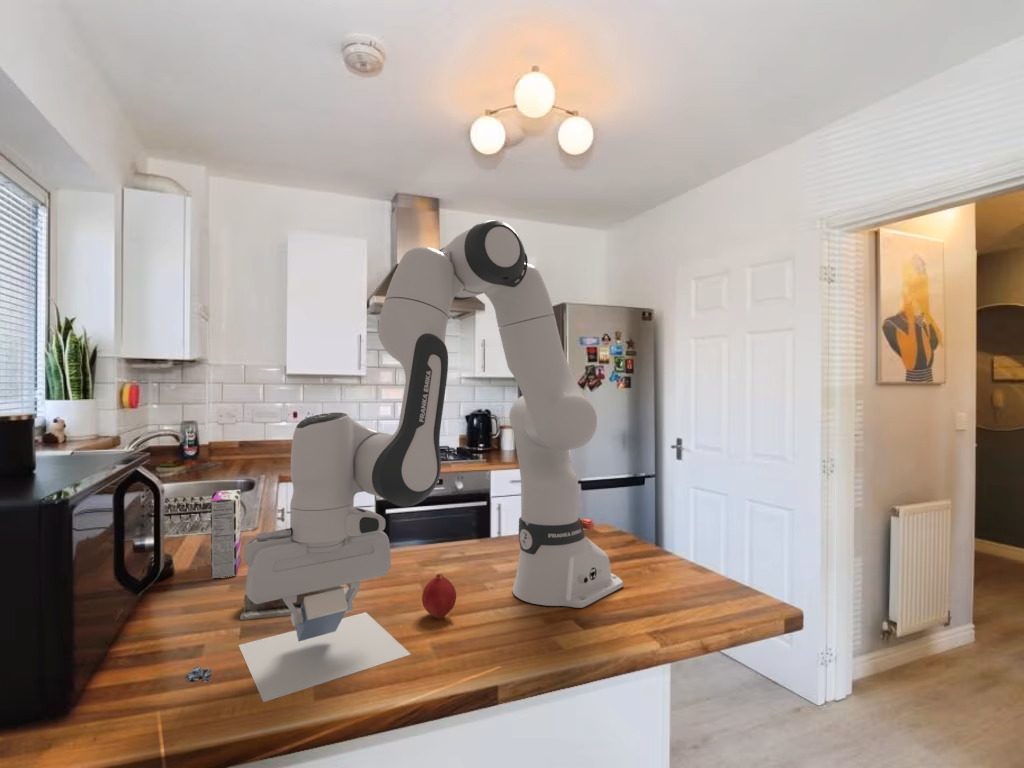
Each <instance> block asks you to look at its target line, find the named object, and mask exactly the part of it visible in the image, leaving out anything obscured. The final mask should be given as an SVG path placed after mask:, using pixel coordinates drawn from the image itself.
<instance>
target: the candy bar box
mask: <svg viewBox="0 0 1024 768" xmlns="http://www.w3.org/2000/svg"><path fill="white" fill-rule="evenodd" d="M241 521H242V520H241V489H228V490H218V491H217V492H216V493H215V495H214V496H213V498H212V499H211V501H210V555H211V556H210V557H211V559H210V567H211V569H210V571H211V573H210V575H211V576H210V577H211V580H214V579H213V578H221V577H228V576H229V577H228V578H231V577H230V576H235V577H237V574H238V571H239V568H240V565H241V561H242V557H241V556H242V545H241V544H242V543H241V542H242V541H241V540H242V539H241V537H242V534H241V527H242V525H241V523H242V522H241ZM221 579H222V578H221Z"/></svg>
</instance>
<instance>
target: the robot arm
mask: <svg viewBox="0 0 1024 768" xmlns="http://www.w3.org/2000/svg"><path fill="white" fill-rule="evenodd" d="M528 261H529V259H528V255H527V253H526V251H525V248H524V245H523V242H522V240H521V238H520V236H519V235H518V233H517V232H516V230H515V229H514V228H513V227H512V226H510V225H509V224H508V223H506V222H504V221H502V220H495V219H494V220H493V219H492V220H487V221H483V222H479V223H477V224H475V225H473V226H472V228H469V229H467V230H465V231H463V232H461V233H460V234H458V235H457V236H455V237H454V238H453V239H452V240H451V241H450V242H449V243H447V244H446V245H445V247H442V248H441V249H439V250H437V249H435V248H432V247H427V246H419V247H413V248H411V249H409V250H408V251H406V252H405V253H404V254H403V255H402V257H401V259H400V261H399V263H398V265H397V267H396V269H395V271H394V272H393V275H392V278H391V281H390V283H389V284H388V285H389V286H388V288H387V291H386V295H385V297H384V302H383V304H382V307H381V311H380V315H379V321H378V338H379V342H380V344H381V345H382V347H383V348H384V350H385V351H386V352H387V354H388V355H390V356H391V357H392V358H393V359H394V360H396V361H397V362H399V364H400V365H401V366H402V369H403V371H404V375H405V377H404V378H405V381H404V382H405V383H404V390H403V395H402V401H401V407H400V408H401V409H400V413H399V414H400V415H399V420H398V421H399V422H398V425H397V428H396V431H395V432H394V433H393V434H390V433H386V432H380V431H378V430H375V429H373V428H370V427H367V426H365V425H363V424H361V423H359V422H358V421H355V420H354V419H352V418H351V416H350V415H349V414H348V413H344V412H330V413H329V412H328V413H320V414H316V415H312V416H309V417H306V418H304V419H302V420H300V422H299V423H298V424H297V425H296V427H295V429H294V432H293V435H292V442H291V451H290V479H291V483H292V488H293V490H292V497H291V500H290V505H289V506H290V507H289V508H290V509H289V510H290V511H289V512H290V513H289V515H290V517H289V519H290V521H289V525H290V526H289V528H283V529H277V530H274V531H264V532H259V533H256V536H254V537H252V538H250V539H249V540H248V541H247V543H246V545H245V546H244V561H245V564H246V565H247V571H246V572H247V573H246V580H245V594H247V596H248V598H249V599H250V600H251V601H252V602H254V603H255V604H259V603H263V602H268V601H272V600H277V599H281V598H283V601H284V602H285V604H286V605H287V607H288V608H289V609H290V611H291V615H290V621H291V624H292V626H293V627H296V626H297V625H300V624H303V623H305V619H304V617H305V612H304V611H303V609H302V608H299V609H296V608H295V607H294V605H293V604H292V602H293V603H295V602H297V595H299V594H304V593H308V592H313V591H317V590H322V589H326V588H331V587H335V586H340V585H343V586H344V585H346V587H347V588H348V587H349V588H348V590H347V593H346V595H345V598H346V601H347V605H348V608H347V610H346V612H345V614H346V613H349V612H350V613H351V612H353V601H354V599H355V598H356V596H357V594H358V592H359V591H360V587H361V581H366V580H371V579H375V578H379V577H383V576H384V577H385V576H387V575H388V573H389V571H390V569H391V568H392V567H391V566H392V557H391V556H392V554H391V545H390V539H389V536H388V535H387V533H385V532H384V530H385V529H386V519H385V518H384V517H383V516H382V515H381V514H378V513H376V512H375V511H372V510H369V509H365V508H364V509H363V508H361V507H359V508H358V507H354V506H355V502H354V501H355V499H354V498H355V496H356V494H358V493H362V492H363V493H367V494H369V495H371V496H372V495H373V496H377V497H379V498H381V499H383V500H385V501H387V502H389V503H391V504H393V505H395V506H397V507H404V508H405V507H406V508H407V507H412V506H415V505H418V504H420V503H421V502H423V501H425V500H426V499H427V498H428V497H429V496H430V495H431V493H432V492H434V490H435V488H436V486H437V484H438V482H439V479H440V476H441V469H442V459H441V458H442V457H441V448H440V447H441V445H440V435H441V427H442V421H443V420H442V418H443V411H444V406H445V405H444V404H445V403H444V402H445V396H446V389H447V380H448V372H449V371H448V369H449V355H448V354H449V352H448V349H447V346H446V333H447V326H448V322H449V317H450V313H451V308H452V303H453V301H454V300H455V301H462V300H463V301H464V300H468V299H471V298H473V297H477V296H480V295H482V294H484V295H485V296H486V298H488V300H489V301H490V303H491V304H492V307H493V308H494V312H495V318H496V323H497V328H498V331H499V336H500V340H501V346H502V349H503V353H504V357H505V360H506V365H507V368H508V370H509V371H510V373H511V374H512V376H513V377H514V380H515V381H516V384H517V386H518V387H519V390H520V393H521V396H519V397H518V398H517V399H515V401H513V403H512V405H511V407H510V410H509V414H508V415H509V417H508V420H509V424H510V426H511V429H512V431H513V436H514V443H515V449H516V455H517V462H518V467H519V473H520V474H519V475H520V516H519V519H518V540H519V541H518V542H519V555H518V562H517V563H518V564H517V569H516V573H515V579H514V584H513V586H512V590H511V591H512V593H513V595H514V596H515V597H516V598H518V599H519V600H520V601H521V600H522V601H524V602H526V603H529V604H533V605H534V604H535V605H539V606H540V605H541V606H548V607H549V606H551V607H553V606H554V607H560V606H562V607H569V608H570V607H571V608H576V609H579V608H580V609H581V608H582V609H583V608H585V607H587V606H589V605H591V604H593V603H595V602H596V601H599V600H600V599H602V598H604V597H606V596H607V595H609V594H612V593H613V592H615V591H618V590H619V589H621V588H623V586H624V582H623V580H622V579H621V578H620V577H619V576H617V575H616V574H614V573H612V571H611V561H610V559H609V556H608V554H607V553H606V552H605V550H603V549H602V548H600V547H599V546H598V545H597V544H596V543H594V542H592V540H590V539H589V538H588V537H587V536H586V534H585V530H584V529H586V530H588V531H593V530H594V529H595V522H594V520H592V519H588V518H583V519H581V518H579V479H578V476H577V474H576V472H575V470H574V466H573V465H572V461H571V457H570V452H569V451H572V450H574V449H575V450H576V449H579V448H581V447H584V446H585V445H587V444H589V443H590V440H592V438H593V437H594V435H595V432H596V431H597V426H598V418H597V412H596V411H595V408H594V407H593V405H592V404H591V403H590V401H589V400H588V399H587V398H586V397H585V396H584V394H583V392H582V390H581V389H580V387H579V384H578V382H577V379H576V378H575V376H574V374H573V372H572V370H571V367H570V365H569V363H568V360H567V358H566V354H565V352H564V348H563V345H562V340H561V336H560V333H559V328H558V325H557V320H556V315H555V311H554V307H553V303H552V301H551V300H552V299H551V297H550V294H549V292H548V289H547V287H546V283H545V282H544V279H543V276H542V275H541V273H540V271H539V269H538V268H537V267H536V266H534V265H533V264H529V262H528Z"/></svg>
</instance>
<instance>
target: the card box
mask: <svg viewBox="0 0 1024 768" xmlns="http://www.w3.org/2000/svg"><path fill="white" fill-rule="evenodd" d="M301 608H302V609H303V611H304V612H305V617H304V619H305V623H303V624H300V625H297V626H295V630H296V632H297V637H298V642H299V641H302V640H306V639H310V638H313V637H317V636H321V635H324V634H328V633H331V632H335V631H336V630H337V628H338V626H339V624H340V622H341V620H342V618H344V616H345V614H346V613H345V612H346V610H347V608H348V605H347V601H346V598H345V594H344V590H343V588H341V589H337V590H333V591H328V592H324V593H320V594H315V595H311V596H307V597H305V598H304V600H303V603H302V605H301Z"/></svg>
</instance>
